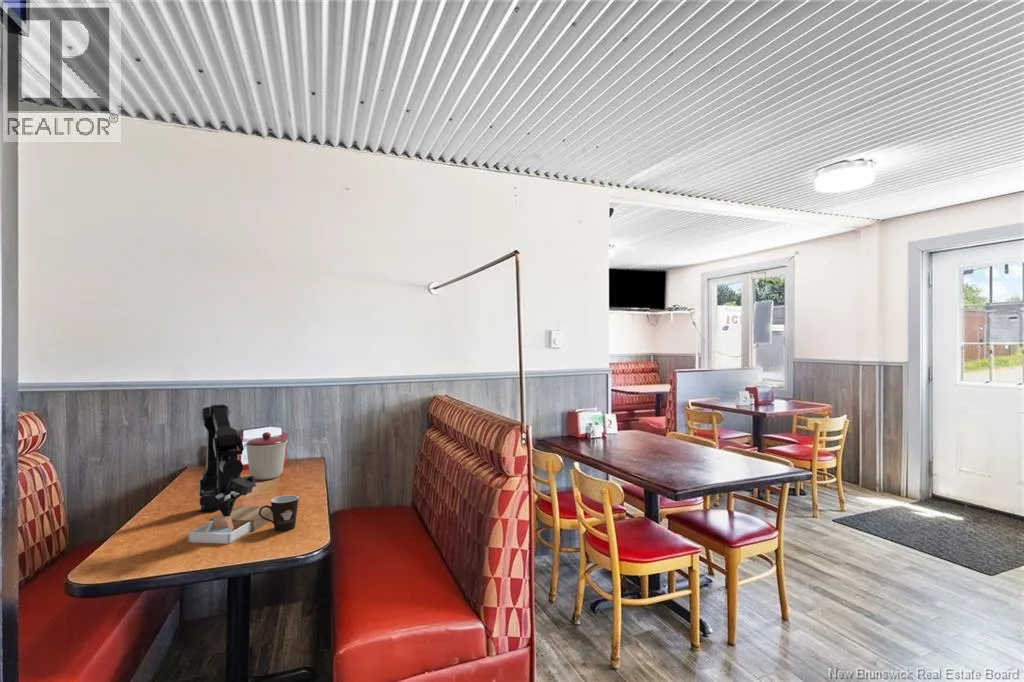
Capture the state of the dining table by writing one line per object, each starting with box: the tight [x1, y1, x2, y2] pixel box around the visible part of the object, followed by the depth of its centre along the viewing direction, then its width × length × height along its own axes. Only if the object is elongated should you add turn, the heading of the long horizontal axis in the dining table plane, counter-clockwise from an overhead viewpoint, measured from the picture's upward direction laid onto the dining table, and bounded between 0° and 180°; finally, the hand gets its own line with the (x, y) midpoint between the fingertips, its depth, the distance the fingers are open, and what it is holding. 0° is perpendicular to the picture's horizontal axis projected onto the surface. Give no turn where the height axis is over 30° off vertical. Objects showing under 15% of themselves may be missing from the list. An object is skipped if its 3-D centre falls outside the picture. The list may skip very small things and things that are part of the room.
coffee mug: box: [259, 494, 299, 533], centre depth 171 cm, size 12×9×10 cm
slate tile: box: [207, 527, 231, 533], centre depth 164 cm, size 5×5×2 cm
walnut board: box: [209, 505, 273, 532], centre depth 177 cm, size 16×14×4 cm
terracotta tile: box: [213, 515, 234, 532], centre depth 167 cm, size 5×5×2 cm
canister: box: [244, 431, 288, 481], centre depth 237 cm, size 18×18×21 cm
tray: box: [187, 520, 251, 545], centre depth 164 cm, size 14×11×3 cm
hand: (227, 518), depth 168 cm, fingers closed
